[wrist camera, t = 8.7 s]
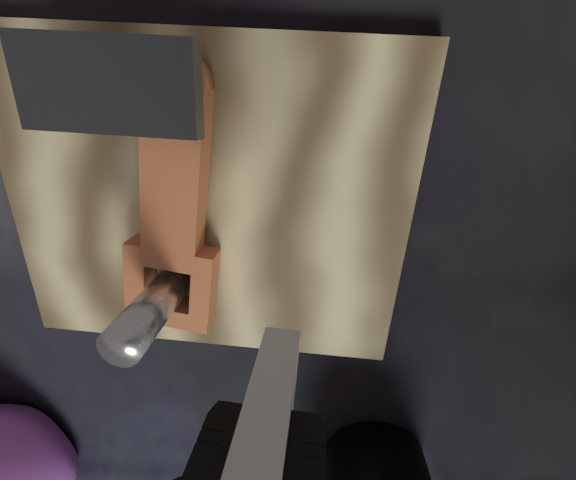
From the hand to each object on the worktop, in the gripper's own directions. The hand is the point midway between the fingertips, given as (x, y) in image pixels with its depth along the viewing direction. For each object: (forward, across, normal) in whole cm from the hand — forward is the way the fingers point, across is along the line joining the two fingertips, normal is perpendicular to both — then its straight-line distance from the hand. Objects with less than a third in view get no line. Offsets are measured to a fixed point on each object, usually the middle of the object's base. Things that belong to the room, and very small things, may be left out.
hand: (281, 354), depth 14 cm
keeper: (+9, -10, +10) cm, 17 cm away
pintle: (+9, -9, -2) cm, 13 cm away
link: (+9, -8, +4) cm, 13 cm away
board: (+11, -7, +3) cm, 13 cm away
